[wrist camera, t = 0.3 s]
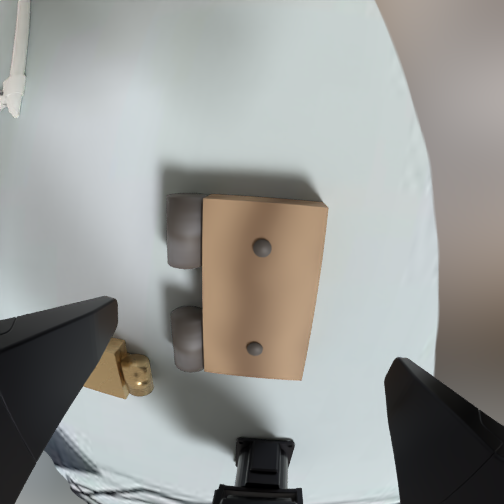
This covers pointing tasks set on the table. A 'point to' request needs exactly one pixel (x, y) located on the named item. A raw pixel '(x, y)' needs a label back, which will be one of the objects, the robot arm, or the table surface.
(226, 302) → the tan flat piece
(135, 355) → the tan knobbed block
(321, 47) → the table surface
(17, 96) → the door handle
